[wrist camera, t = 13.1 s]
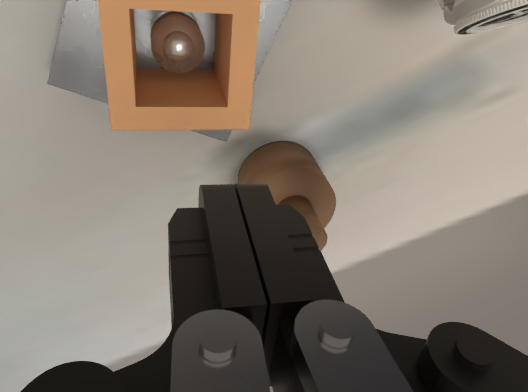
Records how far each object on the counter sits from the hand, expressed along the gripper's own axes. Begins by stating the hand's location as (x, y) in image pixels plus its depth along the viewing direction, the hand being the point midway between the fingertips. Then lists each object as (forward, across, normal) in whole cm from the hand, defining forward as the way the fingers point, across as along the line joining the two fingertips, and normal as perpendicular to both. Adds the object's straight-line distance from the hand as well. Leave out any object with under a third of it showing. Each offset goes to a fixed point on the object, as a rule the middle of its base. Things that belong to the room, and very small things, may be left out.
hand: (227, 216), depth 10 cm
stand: (+17, -7, +10) cm, 21 cm away
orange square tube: (+16, 0, 0) cm, 16 cm away
